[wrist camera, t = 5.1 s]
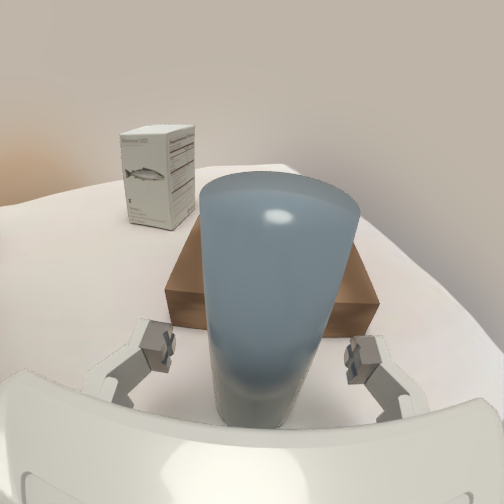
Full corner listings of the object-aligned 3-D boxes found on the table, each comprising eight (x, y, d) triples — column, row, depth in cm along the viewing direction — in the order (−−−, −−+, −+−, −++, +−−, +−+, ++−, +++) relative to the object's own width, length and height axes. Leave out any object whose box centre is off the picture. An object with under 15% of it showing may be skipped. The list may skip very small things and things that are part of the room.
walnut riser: (172, 325, 21) (164, 289, 19) (200, 245, 31) (198, 214, 29) (363, 336, 21) (379, 303, 19) (338, 256, 31) (345, 226, 29)
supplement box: (128, 224, 35) (116, 133, 28) (156, 202, 41) (150, 123, 34) (172, 232, 33) (166, 132, 26) (197, 208, 39) (196, 123, 32)
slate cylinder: (211, 430, 14) (179, 227, 6) (220, 368, 18) (215, 167, 10) (292, 435, 14) (383, 243, 6) (290, 372, 18) (339, 178, 10)
